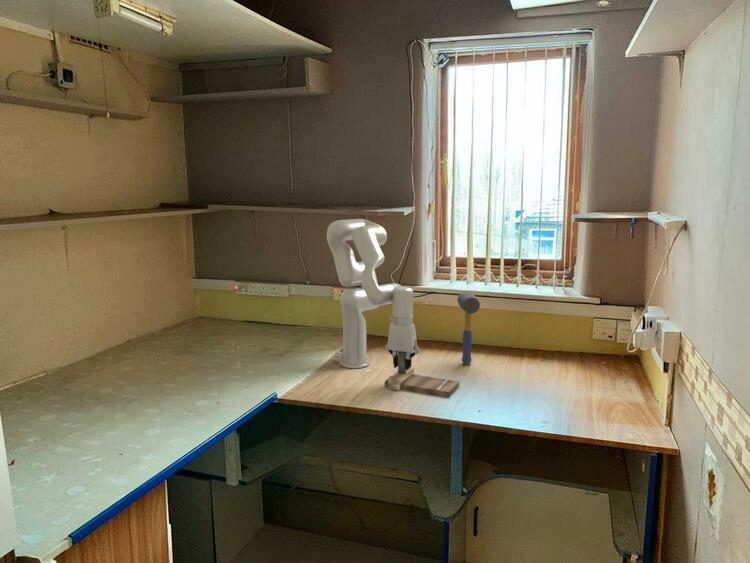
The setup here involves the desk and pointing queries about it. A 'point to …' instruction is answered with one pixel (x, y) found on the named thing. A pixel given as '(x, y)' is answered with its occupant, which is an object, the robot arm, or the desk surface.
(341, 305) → the robot arm
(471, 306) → the rubber mallet
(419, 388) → the walnut board
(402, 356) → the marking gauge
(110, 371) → the desk surface
